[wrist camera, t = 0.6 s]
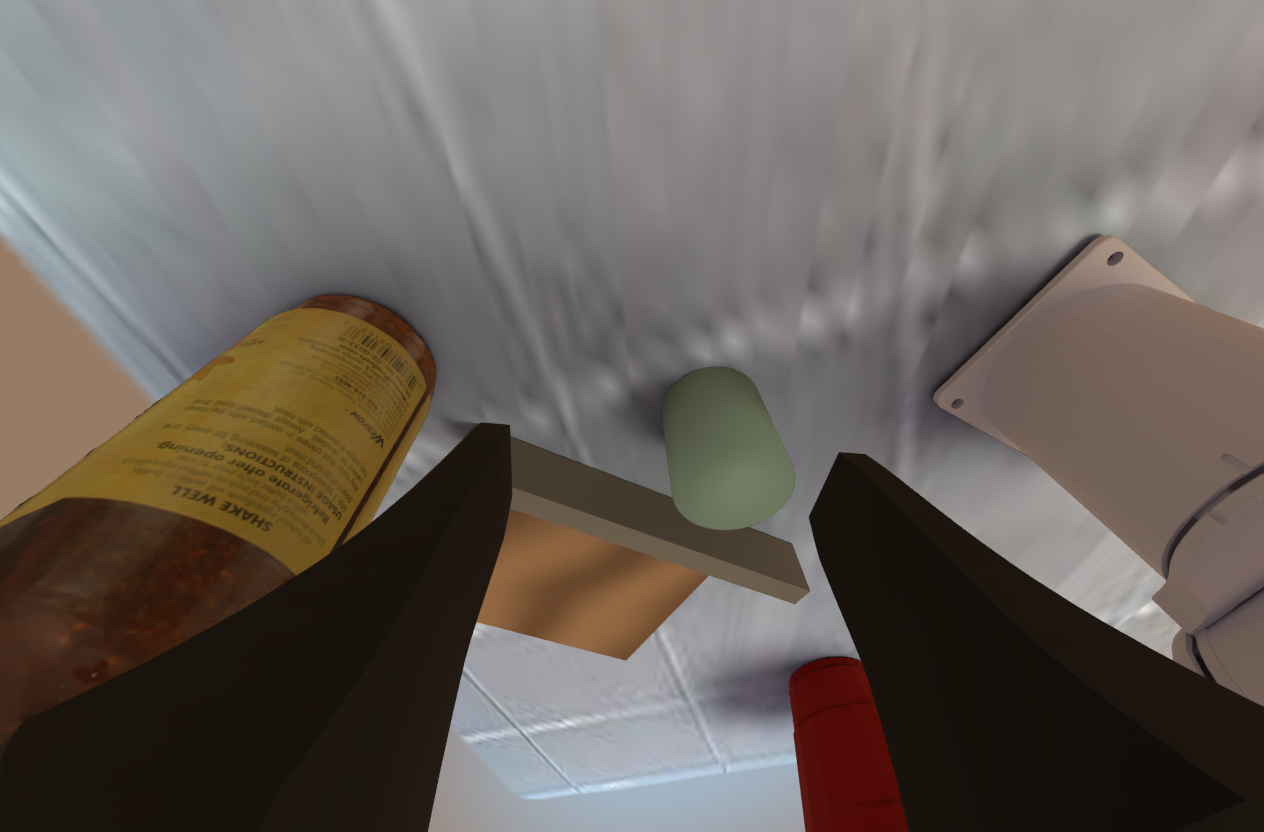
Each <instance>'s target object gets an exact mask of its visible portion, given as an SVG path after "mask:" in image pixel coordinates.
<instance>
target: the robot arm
mask: <svg viewBox="0 0 1264 832" xmlns="http://www.w3.org/2000/svg"><path fill="white" fill-rule="evenodd" d="M1112 254H1113V256H1112V258H1111V259H1110V260H1108V258H1109V257H1110V256H1111V255H1112ZM1107 260H1108V261H1107ZM956 399H958V400H957V401H956V402H954V403H953V401H955V400H956ZM933 401H934V402H935V403H936V404H937V405H938V406H939V407H940V408H942V409H944V410H945V411H947V412H949V413H951V414H953V415H955V416H956V417H958V418H960V419H962V420H964V421H965V422H967V423H969V424H971V425H973V426H975V427H976V428H978V429H980V430H982V431H984V432H986V433H987V434H989V435H991V436H993V437H995V438H996V439H998V440H1000V441H1002V442H1004V443H1006V444H1007V445H1009V446H1011V447H1013V448H1015V449H1017V450H1018V451H1020V452H1022V453H1024V454H1026V455H1027V456H1028V457H1030V458H1031V459H1032V460H1033V461H1034V462H1035V463H1036V464H1037V465H1038V466H1040V467H1041V468H1042V469H1043V470H1044V471H1045V472H1046V473H1047V474H1048V475H1050V476H1051V477H1052V478H1053V479H1054V480H1055V481H1056V482H1057V483H1058V484H1060V485H1061V486H1062V487H1063V488H1064V489H1065V490H1066V491H1067V492H1068V493H1070V494H1071V495H1072V496H1073V497H1074V498H1075V499H1076V500H1077V501H1078V502H1080V503H1081V504H1082V505H1083V506H1084V507H1085V508H1086V509H1087V510H1088V511H1090V512H1091V513H1092V514H1093V515H1094V516H1095V517H1096V518H1097V519H1099V520H1100V521H1101V522H1102V523H1103V524H1104V525H1105V526H1106V527H1107V528H1109V529H1110V530H1111V531H1112V532H1113V533H1114V534H1115V535H1116V536H1117V537H1119V538H1120V539H1121V540H1122V541H1123V542H1124V543H1125V544H1126V545H1127V546H1129V547H1130V548H1131V549H1132V550H1133V551H1134V552H1135V553H1136V554H1137V555H1139V556H1140V557H1141V558H1142V559H1143V560H1144V561H1145V562H1146V563H1147V564H1149V565H1150V566H1151V567H1152V568H1153V569H1154V570H1155V571H1156V572H1157V573H1159V574H1160V575H1161V576H1162V577H1163V578H1164V579H1165V580H1166V582H1165V584H1164V585H1163V586H1162V588H1161V589H1160V590H1159V591H1158V592H1157V593H1155V594H1154V595H1153V596H1152V600H1153V601H1154V602H1155V603H1156V604H1157V605H1158V606H1160V607H1161V608H1162V609H1163V610H1164V611H1165V612H1166V613H1167V614H1168V615H1169V616H1170V617H1171V618H1172V619H1173V620H1174V621H1175V622H1176V623H1177V624H1178V625H1179V626H1180V627H1181V628H1182V629H1180V631H1179V632H1178V633H1177V634H1176V635H1175V637H1174V639H1173V643H1172V655H1173V660H1174V661H1173V660H1171V659H1169V658H1167V657H1165V656H1164V655H1162V654H1160V653H1158V652H1156V651H1154V650H1152V649H1151V648H1149V647H1147V646H1145V645H1143V644H1142V643H1140V642H1138V641H1136V640H1135V639H1133V638H1131V637H1129V636H1128V635H1126V634H1124V633H1122V632H1120V631H1119V630H1117V629H1115V628H1113V627H1112V626H1110V625H1108V624H1106V623H1105V622H1103V621H1101V620H1099V619H1098V618H1096V617H1094V616H1093V615H1091V614H1089V613H1088V612H1086V611H1084V610H1083V609H1081V608H1079V607H1078V606H1076V605H1074V604H1073V603H1071V602H1070V601H1068V600H1066V599H1065V598H1063V597H1062V596H1060V595H1059V594H1057V593H1055V592H1054V591H1052V590H1051V589H1049V588H1048V587H1046V586H1044V585H1043V584H1041V583H1040V582H1038V581H1037V580H1035V579H1033V578H1032V577H1031V576H1029V575H1028V574H1026V573H1025V572H1023V571H1022V570H1020V569H1019V568H1017V567H1016V566H1014V565H1013V564H1011V563H1010V562H1008V561H1007V560H1006V559H1004V558H1003V557H1001V556H1000V555H999V554H997V553H996V552H994V551H993V550H992V549H990V548H989V547H987V546H986V545H985V544H983V543H982V542H980V541H979V540H978V539H976V538H975V537H974V536H972V535H971V534H970V533H968V532H967V531H966V530H964V529H963V528H962V527H960V526H959V525H958V524H956V523H955V522H954V521H952V520H951V519H950V518H949V517H947V516H946V515H945V514H943V513H942V512H941V511H940V510H938V509H937V508H936V507H934V506H933V505H932V504H931V503H929V502H928V501H927V500H925V499H924V498H923V497H922V496H920V495H919V494H918V493H917V492H915V491H914V490H913V489H912V488H910V487H909V486H908V485H906V484H905V483H904V482H903V481H901V480H900V479H899V478H897V477H896V476H895V475H894V474H892V473H891V472H890V471H888V470H887V469H886V468H884V467H883V466H882V465H880V464H879V463H877V462H876V461H875V460H873V459H872V458H870V457H869V456H867V455H866V454H855V453H843V452H839V453H838V455H837V458H836V460H835V462H834V464H833V466H832V468H831V471H830V473H829V475H828V477H827V479H826V481H825V483H824V486H823V488H822V490H821V492H820V494H819V496H818V498H817V501H816V503H815V505H814V507H813V509H812V511H811V513H810V516H809V520H810V524H811V528H812V532H813V537H814V541H815V544H816V548H817V552H818V555H819V559H820V561H821V564H822V567H823V569H824V572H825V574H826V577H827V579H828V582H829V584H830V586H831V589H832V591H833V594H834V596H835V599H836V601H837V604H838V606H839V608H840V611H841V613H842V616H843V618H844V620H845V623H846V625H847V628H848V630H849V632H850V635H851V637H852V640H853V642H854V644H855V647H856V649H857V652H858V654H859V657H860V660H861V662H862V665H863V668H864V670H865V673H866V676H867V679H868V682H869V685H870V689H871V692H872V695H873V699H874V702H875V705H876V708H877V712H878V715H879V718H880V722H881V725H882V729H883V732H884V736H885V740H886V743H887V747H888V751H889V754H890V758H891V762H892V765H893V769H894V773H895V776H896V780H897V785H898V789H899V793H900V797H901V801H902V806H903V810H904V814H905V818H906V822H907V827H908V831H909V832H1264V329H1263V328H1260V327H1257V326H1255V325H1252V324H1249V323H1247V322H1244V321H1241V320H1239V319H1236V318H1233V317H1231V316H1228V315H1225V314H1223V313H1220V312H1217V311H1215V310H1212V309H1209V308H1207V307H1204V306H1201V305H1199V304H1198V303H1197V302H1195V301H1194V300H1193V299H1192V298H1190V297H1189V296H1188V295H1187V294H1186V293H1184V292H1183V291H1182V290H1181V289H1180V288H1178V287H1177V286H1176V285H1175V284H1173V283H1172V282H1171V281H1170V280H1169V279H1167V278H1166V277H1165V276H1164V275H1163V274H1161V273H1160V272H1159V271H1158V270H1156V269H1155V268H1154V267H1153V266H1152V265H1150V264H1149V263H1148V262H1147V261H1146V260H1144V259H1143V258H1142V257H1141V256H1139V255H1138V254H1137V253H1136V252H1135V251H1133V250H1132V249H1131V248H1130V247H1129V246H1127V245H1126V244H1125V243H1124V242H1122V241H1121V240H1120V239H1118V238H1115V237H1112V236H1109V235H1105V236H1101V237H1099V238H1096V239H1095V240H1094V241H1092V242H1091V243H1090V244H1089V245H1088V246H1087V247H1086V248H1085V249H1084V250H1083V251H1082V252H1081V253H1079V254H1078V255H1077V256H1076V257H1075V258H1074V259H1073V260H1072V261H1071V262H1070V263H1069V264H1068V265H1067V266H1066V267H1065V268H1064V269H1063V270H1062V271H1061V272H1060V273H1059V274H1058V275H1057V276H1056V277H1055V278H1053V279H1052V280H1051V281H1050V282H1049V283H1048V284H1047V285H1046V286H1045V287H1044V288H1043V289H1042V290H1041V291H1040V292H1039V293H1038V294H1037V295H1036V296H1035V297H1034V298H1033V299H1032V300H1031V301H1030V302H1029V303H1027V304H1026V305H1025V306H1024V307H1023V308H1022V309H1021V310H1020V311H1019V312H1018V313H1017V314H1016V315H1015V316H1014V317H1013V318H1012V319H1011V320H1010V321H1009V322H1008V323H1007V324H1006V325H1005V326H1004V327H1003V328H1001V329H1000V330H999V331H998V332H997V333H996V334H995V335H994V336H993V337H992V338H991V339H990V340H989V341H988V342H987V343H986V344H985V345H984V346H983V347H982V348H981V349H980V350H979V351H978V352H977V353H975V354H974V355H973V356H972V357H971V358H970V359H969V360H968V361H967V362H966V363H965V364H964V365H963V366H962V367H961V368H960V369H959V370H958V371H957V372H956V373H955V374H954V375H953V376H952V377H951V378H949V379H948V380H947V381H946V382H945V383H944V384H943V385H942V386H941V387H940V388H939V389H938V390H937V391H936V392H935V394H934V396H933ZM511 501H512V468H511V439H510V425H505V424H493V423H479V424H478V425H477V426H475V427H474V428H473V429H472V430H471V431H470V433H469V434H468V435H467V436H466V437H465V438H464V439H463V440H462V441H461V442H460V443H459V444H458V445H457V446H456V447H455V448H454V449H453V450H452V451H451V452H450V453H449V454H448V455H447V456H446V457H445V458H444V459H443V460H442V461H441V462H440V463H439V464H438V465H437V466H435V467H434V468H433V469H432V470H431V471H430V472H429V473H428V474H427V475H426V476H425V477H424V478H423V479H422V480H420V481H419V482H418V483H417V484H416V485H415V486H414V487H413V488H412V489H411V490H409V491H408V492H407V493H406V494H405V495H404V496H402V497H401V498H400V499H399V500H398V501H397V502H395V503H394V504H393V505H392V506H391V507H389V508H388V509H387V510H386V511H385V512H383V513H382V514H381V515H380V516H379V517H378V518H376V519H375V520H374V521H373V522H371V523H370V524H369V525H367V526H366V527H365V528H364V529H362V530H361V531H360V532H358V533H357V534H356V535H354V536H353V537H352V538H350V539H349V540H348V541H346V542H345V543H344V544H342V545H341V546H339V547H338V548H337V549H335V550H334V551H332V552H331V553H330V554H328V555H327V556H325V557H324V558H322V559H321V560H320V561H318V562H317V563H315V564H313V565H312V566H310V567H309V568H307V569H306V570H304V571H303V572H301V573H300V574H298V575H296V576H295V577H293V578H292V579H290V580H289V581H287V582H285V583H284V584H282V585H281V586H279V587H277V588H276V589H274V590H273V591H271V592H270V593H268V594H266V595H265V596H263V597H262V598H260V599H258V600H257V601H255V602H253V603H252V604H250V605H248V606H247V607H245V608H243V609H241V610H240V611H238V612H236V613H234V614H233V615H231V616H229V617H227V618H226V619H224V620H222V621H220V622H219V623H217V624H215V625H213V626H212V627H210V628H208V629H206V630H204V631H202V632H201V633H199V634H197V635H195V636H193V637H191V638H189V639H188V640H186V641H184V642H182V643H180V644H178V645H177V646H175V647H173V648H171V649H169V650H167V651H165V652H163V653H161V654H160V655H158V656H156V657H154V658H152V659H150V660H148V661H146V662H144V663H142V664H140V665H138V666H136V667H134V668H132V669H130V670H128V671H126V672H124V673H122V674H120V675H118V676H116V677H114V678H112V679H110V680H108V681H106V682H103V683H101V684H99V685H97V686H95V687H93V688H91V689H89V690H87V691H85V692H83V693H81V694H79V695H77V696H75V697H73V698H71V699H69V700H67V701H65V702H63V703H61V704H59V705H57V706H55V707H53V708H50V709H48V710H46V711H44V712H42V713H40V714H38V715H35V716H33V717H31V718H29V719H27V720H25V721H24V722H23V723H22V724H21V725H20V726H19V727H18V728H17V729H16V730H15V731H14V732H13V733H12V734H11V735H10V736H9V737H8V738H7V739H6V740H5V741H4V742H3V743H2V744H1V745H0V832H428V828H429V823H430V818H431V813H432V808H433V803H434V799H435V793H436V789H437V784H438V779H439V774H440V769H441V765H442V760H443V756H444V751H445V746H446V742H447V737H448V733H449V728H450V724H451V719H452V714H453V710H454V706H455V701H456V697H457V692H458V688H459V684H460V679H461V675H462V671H463V666H464V662H465V658H466V655H467V651H468V648H469V644H470V641H471V637H472V634H473V631H474V628H475V625H476V622H477V619H478V616H479V613H480V610H481V607H482V604H483V601H484V598H485V595H486V592H487V589H488V586H489V583H490V580H491V577H492V574H493V571H494V568H495V565H496V561H497V558H498V555H499V552H500V549H501V546H502V543H503V540H504V536H505V531H506V526H507V521H508V516H509V511H510V506H511Z"/></svg>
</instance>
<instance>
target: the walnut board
mask: <svg viewBox="0 0 1264 832" xmlns="http://www.w3.org/2000/svg"><path fill="white" fill-rule="evenodd" d="M708 576H709V575H707V574H704V573H701V572H698V571H695V570H692V569H689V568H686V567H683V566H680V565H677V564H674V563H671V562H668V561H665V560H662V559H659V558H656V557H653V556H650V555H647V554H644V553H641V552H638V551H635V550H632V549H629V548H626V547H623V546H620V545H617V544H614V543H611V542H608V541H605V540H602V539H599V538H596V537H593V536H590V535H587V534H584V533H581V532H578V531H575V530H572V529H569V528H566V527H563V526H560V525H557V524H554V523H551V522H549V521H546V520H543V519H540V518H537V517H534V516H531V515H528V514H525V513H522V512H519V511H516V510H513V509H510V511H509V516H508V521H507V526H506V531H505V536H504V540H503V543H502V546H501V549H500V552H499V555H498V558H497V561H496V565H495V568H494V571H493V574H492V577H491V580H490V583H489V586H488V589H487V592H486V595H485V598H484V601H483V604H482V607H481V610H480V613H479V616H478V619H477V622H479V623H483V624H486V625H490V626H494V627H498V628H502V629H506V630H510V631H514V632H517V633H521V634H525V635H529V636H533V637H537V638H541V639H545V640H548V641H552V642H556V643H560V644H564V645H568V646H572V647H576V648H580V649H583V650H587V651H591V652H595V653H599V654H603V655H607V656H611V657H614V658H618V659H622V660H627V659H628V658H629V657H630V656H631V655H632V654H633V653H634V652H635V651H636V650H637V649H638V648H639V647H640V646H641V645H642V644H643V642H644V641H645V640H646V639H647V638H648V637H649V636H650V635H651V634H652V633H653V632H654V631H655V630H656V629H657V628H658V627H659V626H660V625H661V624H662V623H663V622H664V621H665V620H666V619H667V618H668V617H669V616H670V615H671V614H672V613H673V612H674V611H675V610H676V609H677V608H678V607H679V606H680V605H681V603H682V602H683V601H684V600H685V599H686V598H687V597H688V596H689V595H690V594H691V593H692V592H693V591H694V590H695V589H696V588H697V587H698V586H699V585H700V584H701V583H702V582H703V581H704V580H705V579H706V578H707V577H708Z"/></svg>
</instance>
